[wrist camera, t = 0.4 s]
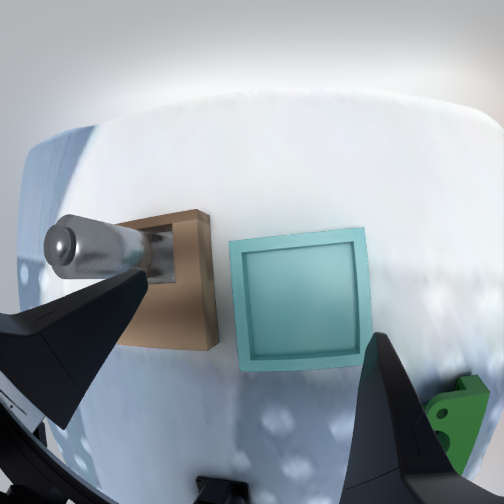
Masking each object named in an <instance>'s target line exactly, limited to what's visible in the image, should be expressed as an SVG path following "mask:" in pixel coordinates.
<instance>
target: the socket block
mask: <svg viewBox="0 0 504 504" xmlns="http://www.w3.org/2000/svg"><path fill="white" fill-rule="evenodd" d="M114 225H118V226H122V227H126V228H131V229H135V230H139V231H143V232H148V233H158V232H165V231H171V230H173V251H174V268H175V283H163V284H148V291H147V293H146V294H145V296H144V298H143V300H142V302H141V304H140V305H139V307H138V309H137V311H136V313H135V315H134V317H133V318H132V320H131V322H130V323H129V325H128V326H127V328H126V329H125V331H124V332H123V334H122V335H121V337H120V338H119V340H118V341H117V344H119V345H128V346H138V347H149V348H162V349H177V350H200V351H208V350H209V349H211V348H212V347H213V346H215V345H216V344H218V343H219V335H218V325H217V315H216V303H215V292H214V279H213V266H212V251H211V235H210V218H209V215H207V214H205V213H203V212H201V211H199V210H198V209H194V210H188V211H182V212H176V213H171V214H165V215H160V216H154V217H149V218H144V219H139V220H134V221H129V222H124V223H119V224H114Z"/></svg>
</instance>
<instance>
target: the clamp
mask: <svg viewBox="0 0 504 504" xmlns="http://www.w3.org/2000/svg"><path fill="white" fill-rule="evenodd" d="M489 394H490V391H489V390H488V388H487V387H486V386H485V384H484V383H483V382H482V380H481V379H480V378H479V376H478V375H471V376H464V377H459V378H458V379H457V381H456V387H455V391H453V392H445V393H440V394H437V395H435V396H434V397H433V398H431V399H430V401H429V402H428V404H424V405H422V406H423V408H424V409H423V410H424V411H425V413H426V415H427V417H428V419H429V421H430V424H431V426H432V428H433V430H437V431H440V432H439V433H438V434H437V435H436V436H437V438H438V440H439V442H440V443H441V445H442V447H443V449H444V451H445V453H446V454H447V456H448V458H449V460H450V462H451V464H452V466H453V467H454V469H455V470H456V471H457V473H458V474H459V475H462V473H463V471H464V468H465V466H466V464H467V461H468V459H469V457H470V454H471V452H472V449H473V446H474V444H475V441H476V438H477V435H478V433H479V430H480V426H481V423H482V420H483V417H484V413H485V410H486V406H487V402H488V399H489Z"/></svg>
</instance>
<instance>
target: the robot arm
mask: <svg viewBox="0 0 504 504" xmlns="http://www.w3.org/2000/svg"><path fill="white" fill-rule="evenodd" d="M147 291H148V281H147V276H146V272H145V271H144V270H143V269H140V268H133V269H131V270H128V271H126V272H123V273H121V274H118V275H115V276H113V277H110V278H108V279H105V280H103V281H100V282H98V283H95V284H93V285H91V286H88V287H86V288H83V289H81V290H78V291H76V292H73V293H71V294H69V295H66V296H65V297H61V298H59V299H57V300H54V301H52V302H49V303H47V304H44V305H41V306H38V307H35V308H32V309H29V310H26V311H23V312H20V313H18V314H12V315H8V314H2V313H0V468H1V470H2V471H3V472H4V473H5V475H6V476H7V477H8V478H9V479H10V481H11V482H12V483H13V485H11V486H10V487H9V489H8V491H7V492H6V493H3V492H1V491H0V504H66V502H67V500H68V499H70V500H71V501H73V502H74V503H75V504H119V503H117V502H116V501H114V500H113V499H111V498H109V497H108V496H106V495H105V494H103V493H102V492H100V491H99V490H98V489H96V488H95V487H93V486H92V485H91V484H89V483H88V482H87V481H85V480H84V479H83V478H81V477H80V476H79V475H77V474H76V473H75V472H74V471H72V470H71V469H70V468H69V467H68V466H66V465H65V464H64V463H63V462H62V461H60V460H59V459H58V458H57V457H56V456H55V455H54V454H53V453H52V452H50V451H49V450H48V449H47V441H46V434H45V424H44V423H43V422H42V421H43V419H44V418H45V417H46V416H47V417H48V418H49V419H50V420H51V421H53V422H54V423H55V424H56V425H57V426H59V427H60V428H61V429H62V430H65V428H66V427H67V425H68V423H69V421H70V419H71V418H72V416H73V414H74V412H75V410H76V409H77V407H78V405H79V403H80V402H81V400H82V398H83V397H84V395H85V393H86V391H87V390H88V388H89V386H90V385H91V383H92V381H93V380H94V378H95V376H96V375H97V373H98V371H99V370H100V368H101V367H102V365H103V363H104V362H105V360H106V359H107V357H108V355H109V354H110V352H111V351H112V349H113V348H114V346H115V344H116V343H117V341H118V340H119V338H120V337H121V335H122V334H123V332H124V331H125V329H126V328H127V326H128V325H129V323H130V322H131V320H132V318H133V317H134V315H135V313H136V311H137V309H138V307H139V305H140V304H141V302H142V300H143V298H144V296H145V294H146V293H147ZM423 409H424V408H423V406H422V404H421V402H420V400H419V398H418V395H417V393H416V391H415V389H414V387H413V385H412V383H411V381H410V379H409V377H408V375H407V373H406V371H405V369H404V367H403V365H402V363H401V361H400V359H399V357H398V355H397V353H396V351H395V349H394V347H393V346H392V344H391V342H390V340H389V338H388V336H387V335H386V334H385V333H381V332H375V333H374V334H373V336H372V338H371V340H370V341H369V343H368V345H367V347H366V350H365V355H364V361H363V367H362V372H361V377H360V382H359V387H358V395H357V405H356V414H355V422H354V430H353V437H352V443H351V450H350V455H349V461H348V466H347V472H346V476H345V481H344V486H343V491H342V494H341V498H340V502H339V504H504V497H501V496H497V495H495V494H492V493H491V492H489V491H487V490H485V489H483V488H481V487H479V486H478V485H476V484H474V483H472V482H470V481H469V480H467V479H465V478H463V477H462V476H461V475H459V474H458V473H457V471H456V470H455V469H454V467H453V466H452V464H451V462H450V460H449V458H448V456H447V454H446V453H445V451H444V449H443V447H442V445H441V443H440V442H439V440H438V438H437V436H436V434H435V432H434V430H433V428H432V426H431V424H430V421H429V419H428V417H427V415H426V413H425V411H424V410H423ZM196 483H197V487H198V490H199V495H198V497H197V498H196V500H195V502H194V503H193V504H251V499H250V493H249V486H248V484H246V483H240V482H232V481H224V480H217V479H211V478H205V477H200V476H198V477H197V478H196ZM244 486H245V487H244Z"/></svg>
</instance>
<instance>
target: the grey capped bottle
mask: <svg viewBox="0 0 504 504" xmlns="http://www.w3.org/2000/svg"><path fill="white" fill-rule="evenodd" d="M44 255H45V258H46V260H47V262H48V263H49V264H50V265H51V266H52V268H53V270H54V272H55V273H56V275H57V276H59V277H60V278H62V279H108V278H110V277H113V276H115V275H118V274H121V273H123V272H126V271H128V270H131V269H133V268H140V269H143V270H144V271H145V272H146V276H147V278H158V277H170V276H173V275H174V274H175V268H174V251H173V239H172V238H169V237H165V236H161V235H156V234H152V233H148V232H143V231H139V230H135V229H131V228H126V227H122V226H118V225H114V224H109V223H105V222H101V221H97V220H92V219H88V218H84V217H80V216H75V215H71V214H68V215H65V216H63V217H61V218H60V219H59V220H58V222H57V223H56V224H55V225H53V226H52V227H51V228H50V229H49V230H48V232H47V234H46V237H45V240H44Z"/></svg>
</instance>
